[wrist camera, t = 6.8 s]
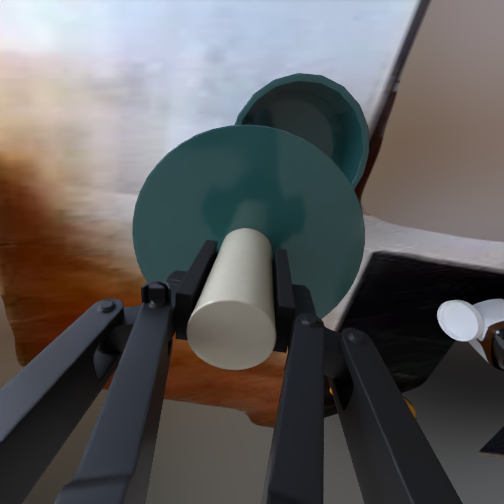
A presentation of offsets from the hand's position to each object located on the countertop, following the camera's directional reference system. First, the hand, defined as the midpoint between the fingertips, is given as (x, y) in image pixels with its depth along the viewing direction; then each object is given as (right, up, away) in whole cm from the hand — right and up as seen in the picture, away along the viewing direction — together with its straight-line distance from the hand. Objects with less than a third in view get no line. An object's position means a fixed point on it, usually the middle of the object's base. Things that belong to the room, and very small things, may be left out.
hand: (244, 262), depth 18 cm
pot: (+6, +15, +20) cm, 26 cm away
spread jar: (+41, -11, +30) cm, 52 cm away
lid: (0, +1, +2) cm, 2 cm away
